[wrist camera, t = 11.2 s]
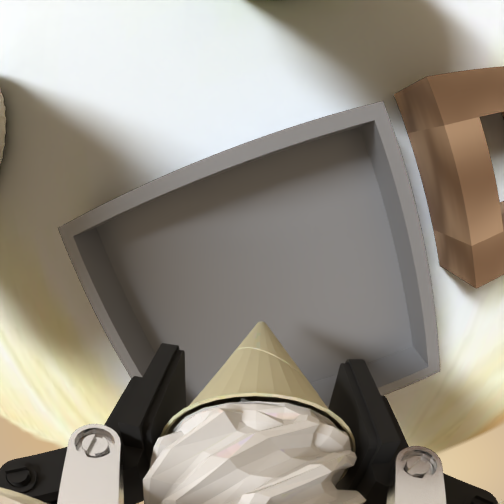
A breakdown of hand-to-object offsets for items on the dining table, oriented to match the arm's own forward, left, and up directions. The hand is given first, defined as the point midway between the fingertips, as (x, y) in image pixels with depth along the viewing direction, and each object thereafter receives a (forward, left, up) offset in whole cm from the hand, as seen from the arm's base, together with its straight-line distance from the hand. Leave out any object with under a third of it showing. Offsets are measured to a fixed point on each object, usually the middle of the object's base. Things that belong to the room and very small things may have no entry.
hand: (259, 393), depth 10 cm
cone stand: (+3, -17, -10) cm, 20 cm away
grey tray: (0, 0, -10) cm, 10 cm away
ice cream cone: (0, 0, -5) cm, 5 cm away
